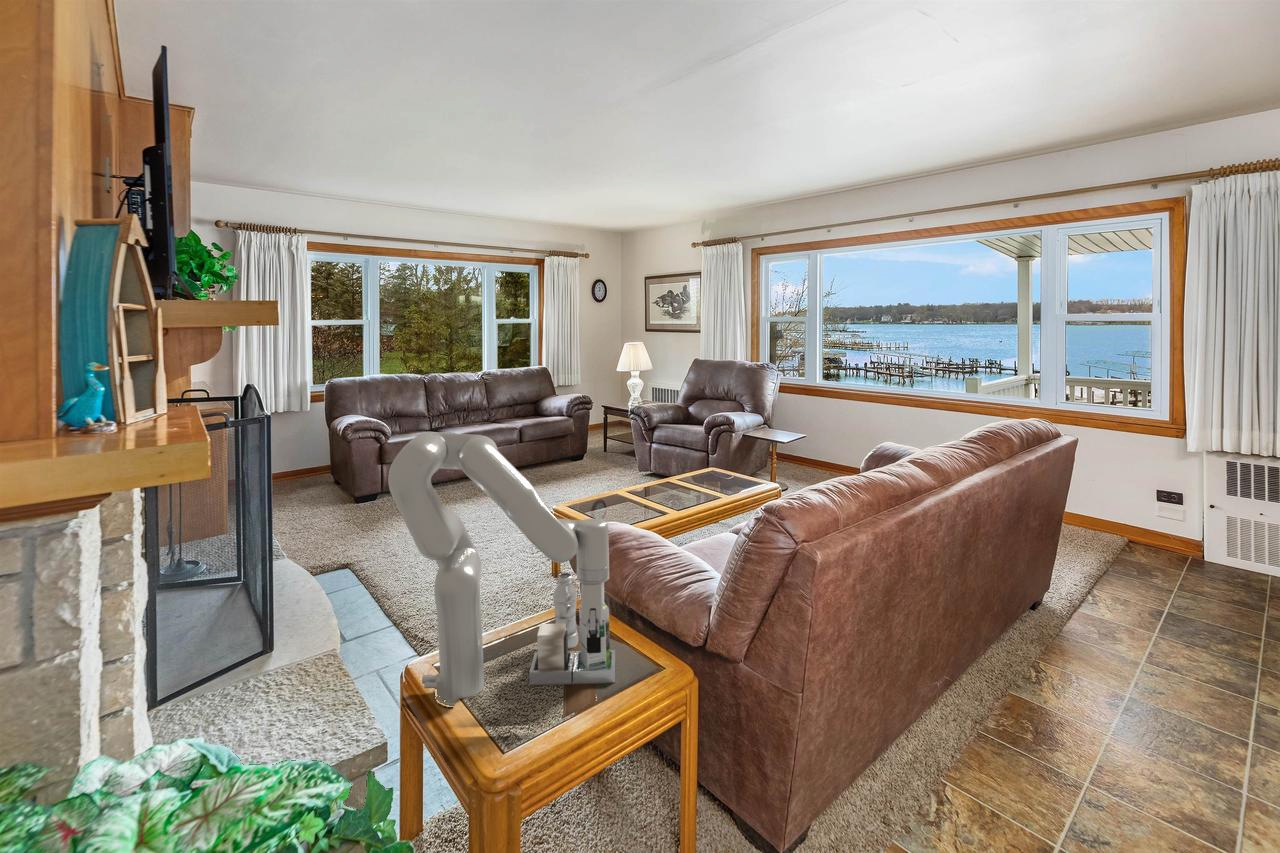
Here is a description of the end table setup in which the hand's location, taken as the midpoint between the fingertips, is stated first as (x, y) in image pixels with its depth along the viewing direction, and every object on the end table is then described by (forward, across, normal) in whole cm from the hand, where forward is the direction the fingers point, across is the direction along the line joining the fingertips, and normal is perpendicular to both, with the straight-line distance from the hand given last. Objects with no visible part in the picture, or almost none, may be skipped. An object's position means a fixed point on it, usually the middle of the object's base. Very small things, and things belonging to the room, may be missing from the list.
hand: (594, 643), depth 145 cm
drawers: (+9, 0, -5) cm, 10 cm away
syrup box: (+5, 0, 0) cm, 5 cm away
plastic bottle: (+9, -15, -8) cm, 19 cm away
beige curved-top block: (+7, 0, -10) cm, 12 cm away
